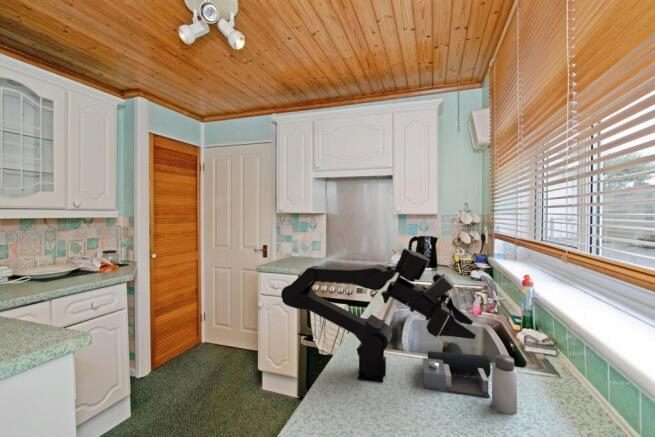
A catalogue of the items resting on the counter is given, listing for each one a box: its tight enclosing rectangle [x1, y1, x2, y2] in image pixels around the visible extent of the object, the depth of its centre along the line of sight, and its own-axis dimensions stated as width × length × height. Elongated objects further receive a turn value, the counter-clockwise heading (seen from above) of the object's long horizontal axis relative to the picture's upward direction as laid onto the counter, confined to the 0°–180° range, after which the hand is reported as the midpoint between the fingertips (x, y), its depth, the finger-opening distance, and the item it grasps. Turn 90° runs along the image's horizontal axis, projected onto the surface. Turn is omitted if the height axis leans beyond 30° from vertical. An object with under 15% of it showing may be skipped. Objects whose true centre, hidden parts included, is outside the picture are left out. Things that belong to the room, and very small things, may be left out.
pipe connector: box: [427, 340, 492, 377], centre depth 87 cm, size 12×5×15 cm
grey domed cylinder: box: [491, 354, 518, 416], centre depth 68 cm, size 5×5×11 cm
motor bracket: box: [422, 357, 491, 399], centre depth 78 cm, size 15×8×5 cm, turn 75°
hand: (473, 329), depth 73 cm, fingers open, 9 cm apart
